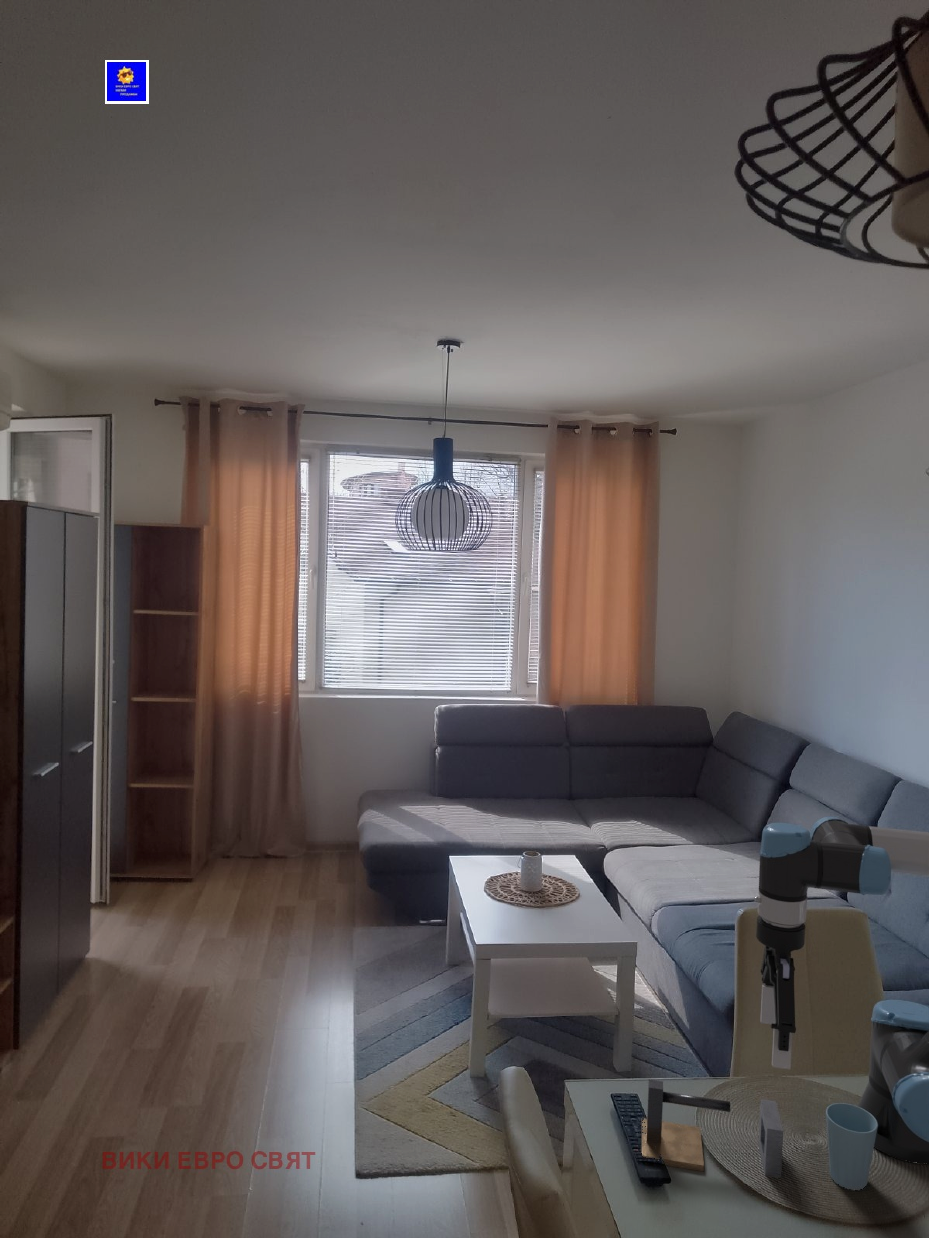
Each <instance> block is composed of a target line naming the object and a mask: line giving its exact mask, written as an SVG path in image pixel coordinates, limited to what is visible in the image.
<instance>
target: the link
mask: <svg viewBox="0 0 929 1238" xmlns="http://www.w3.org/2000/svg"><path fill="white" fill-rule="evenodd" d="M759 1107H760V1108H759V1127H758V1148H759V1149H758V1150H759V1152H760V1157H761V1158H760V1159H761V1162H762V1164H761V1165H762V1168H763V1173H764V1176H766V1177H772V1178H776V1177H778V1178H777V1179H782V1167H783V1147H784V1146H783V1144H784V1128H783V1123H782V1119H781V1117H780V1112H779V1109H778V1108H779V1107H778V1104H777V1101H776V1100H769V1099H763V1098H762V1099H761V1098H760V1105H759Z"/></svg>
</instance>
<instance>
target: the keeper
mask: <svg viewBox="0 0 929 1238" xmlns="http://www.w3.org/2000/svg"><path fill="white" fill-rule="evenodd" d="M647 1089H648V1090H647V1110H646V1111H647V1112H646V1113H647V1114H646V1118H644V1117H643V1118H644V1120H643V1121H642V1120H641V1153H642V1156H643V1157H646V1158H655V1159H660V1158H659V1156H660V1154H661V1157H662V1160H663V1161H664V1163H665V1165H664V1166H668V1167H674V1168H681V1169H688V1170H693V1171H699V1172H704V1171H705V1161H704V1155H703V1154H704V1153H703V1144H702V1143H703V1142H702V1132H701V1127H700V1126H696V1125H690V1124H689V1125H688V1124H683V1123H675V1122H669V1121H665V1120H664V1121H663V1107H664V1106H663V1105H664V1104H663V1103H666V1104H673V1105H680V1106H687V1107H692V1108H693V1107H694V1108H699V1109H706V1110H714V1111H721V1112H727V1113H730V1112H731V1101H730V1100H724V1099H715V1098H709V1097H703V1096H696V1095H689V1094H682V1093H675V1092H669V1091H664V1081H662V1080H658V1079H657V1080H656V1079H648V1088H647ZM642 1122H643V1123H642ZM644 1122H645V1123H644ZM642 1126H643V1128H642ZM645 1126H646V1127H645ZM642 1129H643V1130H642ZM642 1132H644V1133H642ZM645 1133H646V1134H645ZM655 1146H656V1147H655ZM659 1153H660V1154H659Z"/></svg>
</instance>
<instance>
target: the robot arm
mask: <svg viewBox="0 0 929 1238" xmlns="http://www.w3.org/2000/svg"><path fill="white" fill-rule="evenodd" d="M760 841H761V844H760V849H759V870H758V871H759V874H758V875H759V876H758V895H759V896H754V902H755V903H756V904H757V914H758V916H757V917H756V930H755V931H756V933H755V935H756V939H757V941H758V942H759V943H760V944H762V945H763V946H764V948H763V955H762V961H761V967H760V974H761V982H762V985H761V998H760V999H761V1002H760V1003H761V1004H760V1023H761V1024H767V1025H770V1028H771V1029H772V1030H773V1032H772V1051H771V1052H772V1054H771V1067H772V1068H776V1069H784V1070H791V1064H792V1046H793V1043H792V1042H793V1034H796V1032H797V1027H796V1008H795V1007H796V1005H795V1002H796V1001H795V971H796V967H795V964H794V963H795V961H794V958H793V957H792V954H791V953H792V952H793V951H798V950H801V949H802V948H804V946H805V939H806V924H805V922H806V921H807V910H808V909H807V908H808V888H810V889H811V888H812V889H816V890H817V889H819V890H825V891H835V892H845V893H850V894H858V895H863V896H865V895H869V896H870V895H871V896H872V895H876V896H882V895H885V894H886V893H888V891H889V889H890V886H891V881H892V874H900V875H908V876H909V875H910V876H917V877H925V878H927V877H928V878H929V831H919V830H912V829H911V830H910V829H901V828H899V829H898V828H890V827H889V828H888V827H882V826H881V827H879V826H872V825H871V826H870V825H863V824H855V823H854V824H853V823H849V822H847V821H846V820H843V819H841V818H839V817H836V816H825V817H822V818H819V819H818V820H817V821H816V822H814V824H813V825H812V826H811V829H810V830H808V829H807V828H806V827H804V826H803V825H798V824H792V823H790V822H772V823H769V824H767V825H766V826H764V828H763V830H762V832H761V840H760ZM870 1021H871V1034H870V1036H871V1037H870V1051H869V1054H870V1055H869V1069H868V1070H869V1074H868V1083H867V1085H866V1087H865V1089H864V1091H863V1093H862V1096H861V1097H860V1100H859V1102H858V1104H857V1106H858V1107H860V1108H862V1109H864V1110H866V1111H868V1112H869V1113H870V1114H871V1115H873V1116H874V1118H875V1119H876V1120H877V1123H878V1128H877V1133H876V1138H875V1143H874V1149H877V1150H878V1151H880V1152H882V1153H884V1154H886V1155H887V1156H890V1157H892V1158H895V1159H896V1160H901V1161H903V1160H907V1161H910V1162H909V1163H911V1162H917V1163H925V1164H924V1165H929V1006H927V1005H924V1004H921V1003H917V1002H913V1001H908V1000H901V999H887V1000H886V999H885V1000H880V1001H878V1002H876V1003H875V1004H874V1006H873V1009H872V1015H871V1018H870ZM907 1161H906V1162H907ZM917 1163H916V1164H917ZM926 1163H927V1164H926Z"/></svg>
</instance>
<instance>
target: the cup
mask: <svg viewBox="0 0 929 1238" xmlns="http://www.w3.org/2000/svg"><path fill="white" fill-rule="evenodd" d="M825 1117H826V1118H825V1119H826V1120H825V1121H826V1130H827V1131H826V1132H827V1149H828V1165H829V1176H830V1178H831V1179H832V1181H833V1180H834V1181H833V1182H834V1183H835V1184H837V1185H838V1184H839V1185H838V1186H839V1187H841V1188H843V1187H845V1188H844V1189H846V1188H847V1189H846V1190H849V1189H857V1190H858V1191H860V1190H859V1189H862V1190H864V1189H865V1188H866V1187H867V1184H868V1180H869V1175H870V1170H871V1164H872V1159H873V1154H874V1149H875V1147H874V1143H875V1138H876V1133H877V1128H878V1123H877V1120H876V1119H875V1118H874V1116H873V1115H871V1114H870V1113H869V1112H868V1111H866V1110H864V1109H862V1108H860V1107H858V1105H854V1104H850V1103H846V1102H845V1103H844V1102H837V1103H836V1102H835V1103H832V1104H830V1105H828V1106H827V1107H826V1108H825ZM865 1186H866V1187H865ZM864 1187H865V1188H864ZM863 1188H864V1189H863Z"/></svg>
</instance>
